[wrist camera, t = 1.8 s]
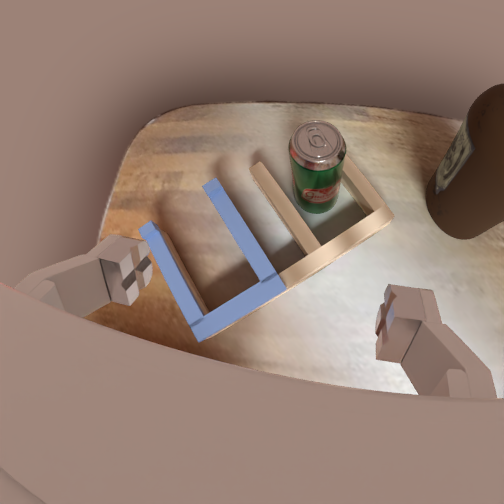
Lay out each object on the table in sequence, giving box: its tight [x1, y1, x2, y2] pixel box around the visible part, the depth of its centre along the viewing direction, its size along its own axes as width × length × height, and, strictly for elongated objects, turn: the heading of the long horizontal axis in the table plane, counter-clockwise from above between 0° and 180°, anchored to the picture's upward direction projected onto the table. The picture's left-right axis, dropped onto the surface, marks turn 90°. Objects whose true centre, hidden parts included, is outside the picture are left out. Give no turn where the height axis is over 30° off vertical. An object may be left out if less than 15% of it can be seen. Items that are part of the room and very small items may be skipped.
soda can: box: [289, 120, 346, 214], centre depth 32 cm, size 5×5×12 cm
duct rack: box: [159, 154, 394, 339], centre depth 36 cm, size 24×14×3 cm, turn 121°
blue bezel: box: [138, 178, 287, 342], centre depth 34 cm, size 10×14×2 cm
